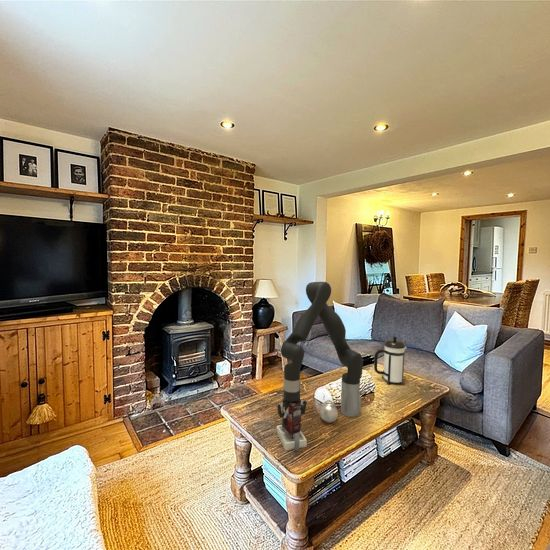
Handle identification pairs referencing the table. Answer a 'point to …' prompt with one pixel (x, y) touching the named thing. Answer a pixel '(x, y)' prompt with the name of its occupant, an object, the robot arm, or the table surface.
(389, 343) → the coffee press
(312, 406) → the table surface
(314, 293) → the robot arm
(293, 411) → the supplement box
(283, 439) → the holder caddy
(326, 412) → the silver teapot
